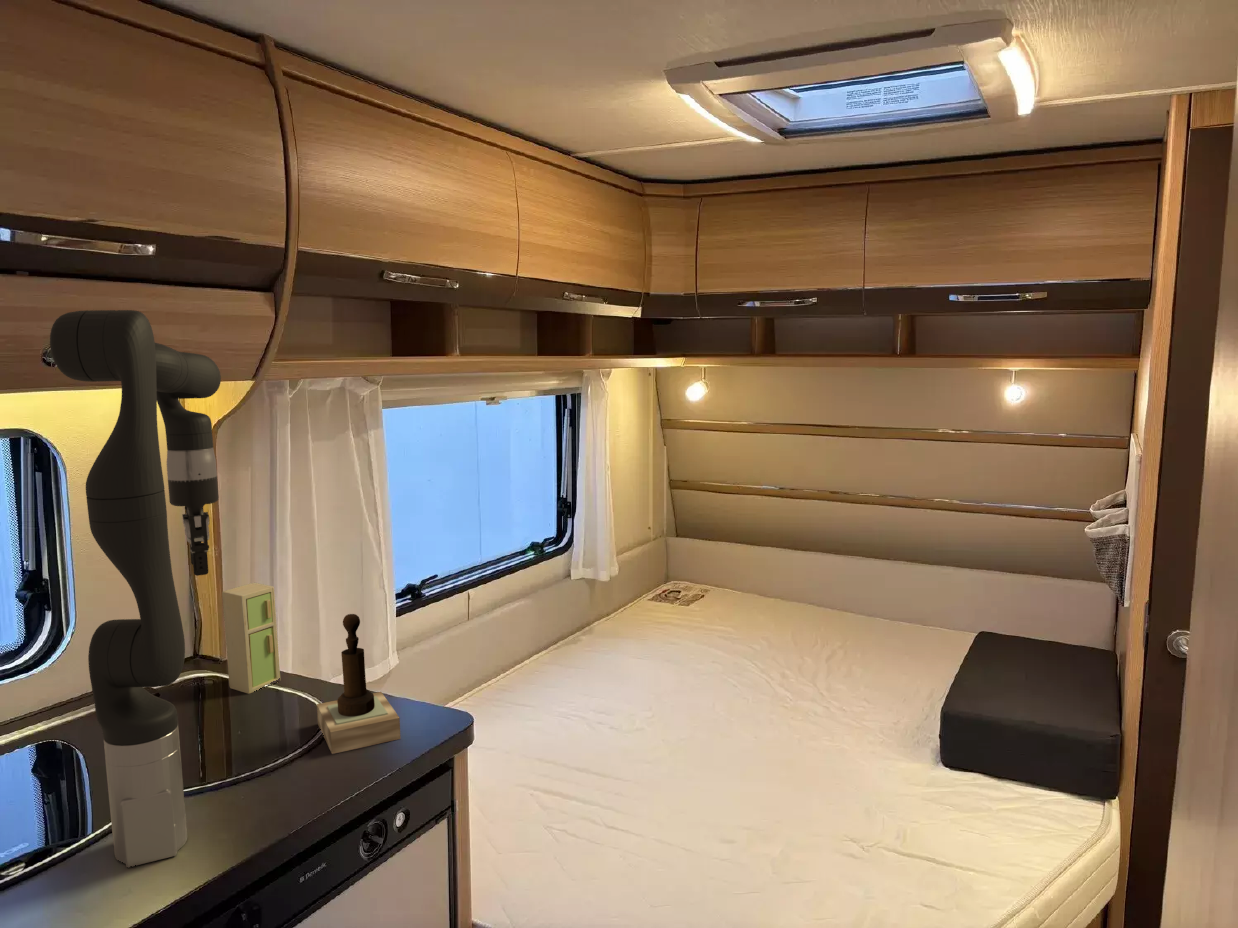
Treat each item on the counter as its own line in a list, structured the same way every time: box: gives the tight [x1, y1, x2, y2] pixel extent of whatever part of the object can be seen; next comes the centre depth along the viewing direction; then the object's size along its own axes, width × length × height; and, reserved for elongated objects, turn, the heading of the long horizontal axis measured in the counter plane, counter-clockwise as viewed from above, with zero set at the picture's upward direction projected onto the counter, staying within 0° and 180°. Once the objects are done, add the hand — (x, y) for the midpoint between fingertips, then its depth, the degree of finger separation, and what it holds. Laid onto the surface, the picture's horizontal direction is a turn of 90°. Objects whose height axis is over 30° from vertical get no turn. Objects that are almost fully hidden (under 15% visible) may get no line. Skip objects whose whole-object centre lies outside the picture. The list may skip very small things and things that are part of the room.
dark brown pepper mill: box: [337, 613, 375, 716], centre depth 160 cm, size 7×6×18 cm
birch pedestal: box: [316, 691, 402, 755], centre depth 162 cm, size 14×12×4 cm
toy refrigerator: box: [221, 582, 281, 695], centre depth 184 cm, size 8×7×21 cm
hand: (199, 569), depth 150 cm, fingers open, 8 cm apart
